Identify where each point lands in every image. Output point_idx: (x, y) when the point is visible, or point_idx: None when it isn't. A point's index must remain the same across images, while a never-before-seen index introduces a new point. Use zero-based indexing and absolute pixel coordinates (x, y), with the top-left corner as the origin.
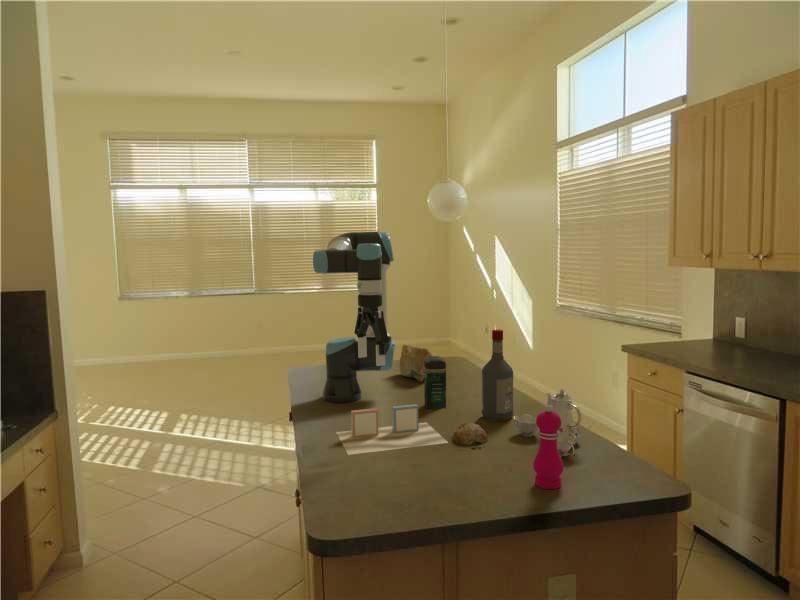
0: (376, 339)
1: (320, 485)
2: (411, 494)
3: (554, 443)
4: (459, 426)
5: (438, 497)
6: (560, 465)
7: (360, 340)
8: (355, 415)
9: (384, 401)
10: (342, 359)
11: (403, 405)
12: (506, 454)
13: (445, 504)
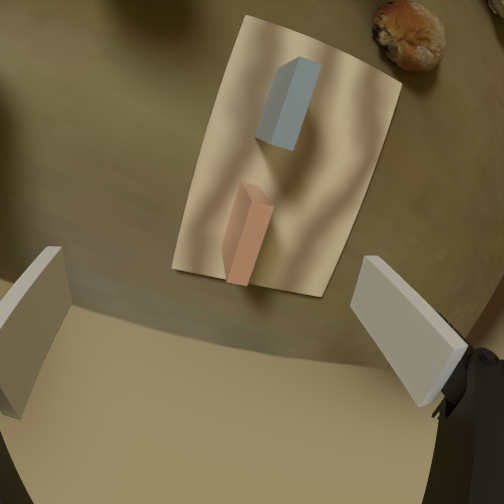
0: (444, 432)
1: (368, 352)
2: (464, 264)
3: None
4: (408, 38)
5: (486, 241)
6: None
7: (20, 386)
8: (251, 273)
9: None
10: None
11: (285, 102)
12: (468, 48)
13: (495, 244)
